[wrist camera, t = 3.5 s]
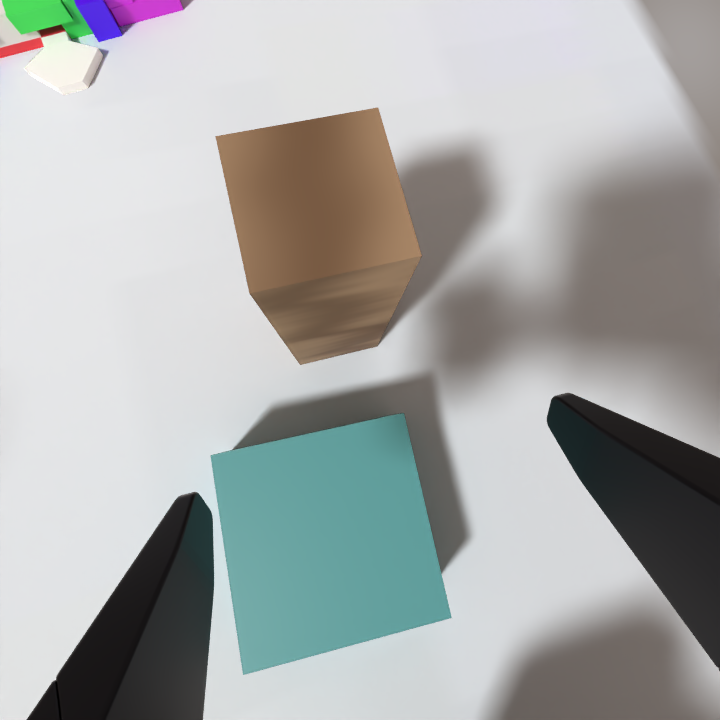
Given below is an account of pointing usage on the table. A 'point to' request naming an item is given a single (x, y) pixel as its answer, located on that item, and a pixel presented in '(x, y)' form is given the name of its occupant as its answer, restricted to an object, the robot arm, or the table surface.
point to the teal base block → (326, 541)
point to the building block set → (69, 34)
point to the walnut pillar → (321, 229)
